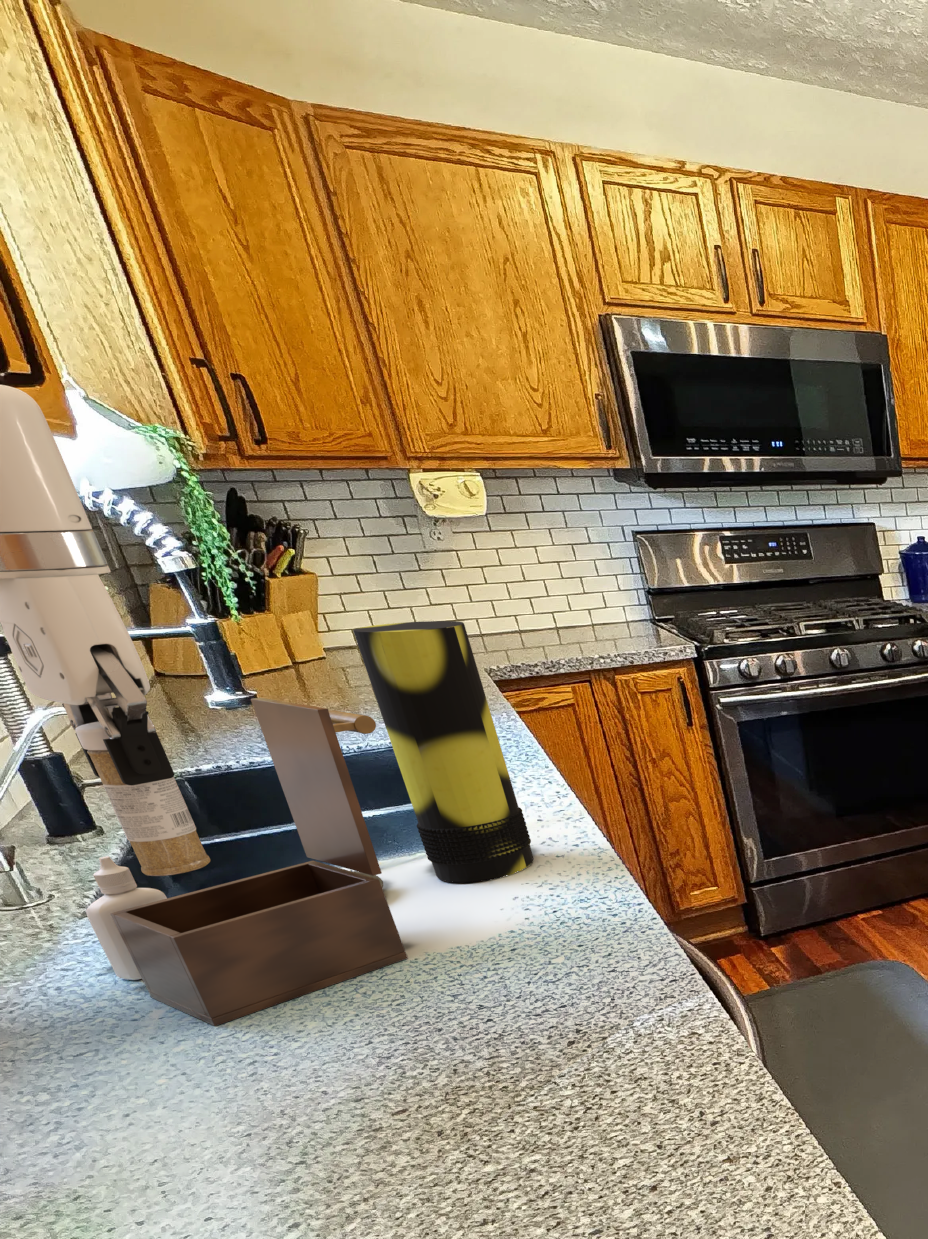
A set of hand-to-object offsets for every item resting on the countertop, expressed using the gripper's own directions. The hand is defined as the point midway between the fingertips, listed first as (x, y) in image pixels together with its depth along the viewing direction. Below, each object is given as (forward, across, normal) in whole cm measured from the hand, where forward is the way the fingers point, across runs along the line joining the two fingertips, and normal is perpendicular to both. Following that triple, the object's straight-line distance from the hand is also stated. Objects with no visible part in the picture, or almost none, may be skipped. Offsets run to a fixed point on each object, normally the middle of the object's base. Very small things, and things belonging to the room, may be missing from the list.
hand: (135, 775), depth 86 cm
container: (+22, -14, +31) cm, 40 cm away
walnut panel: (+4, 0, +12) cm, 12 cm away
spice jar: (+9, 0, 0) cm, 9 cm away
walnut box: (+22, 0, +4) cm, 22 cm away
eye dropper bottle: (+22, -14, -1) cm, 26 cm away
